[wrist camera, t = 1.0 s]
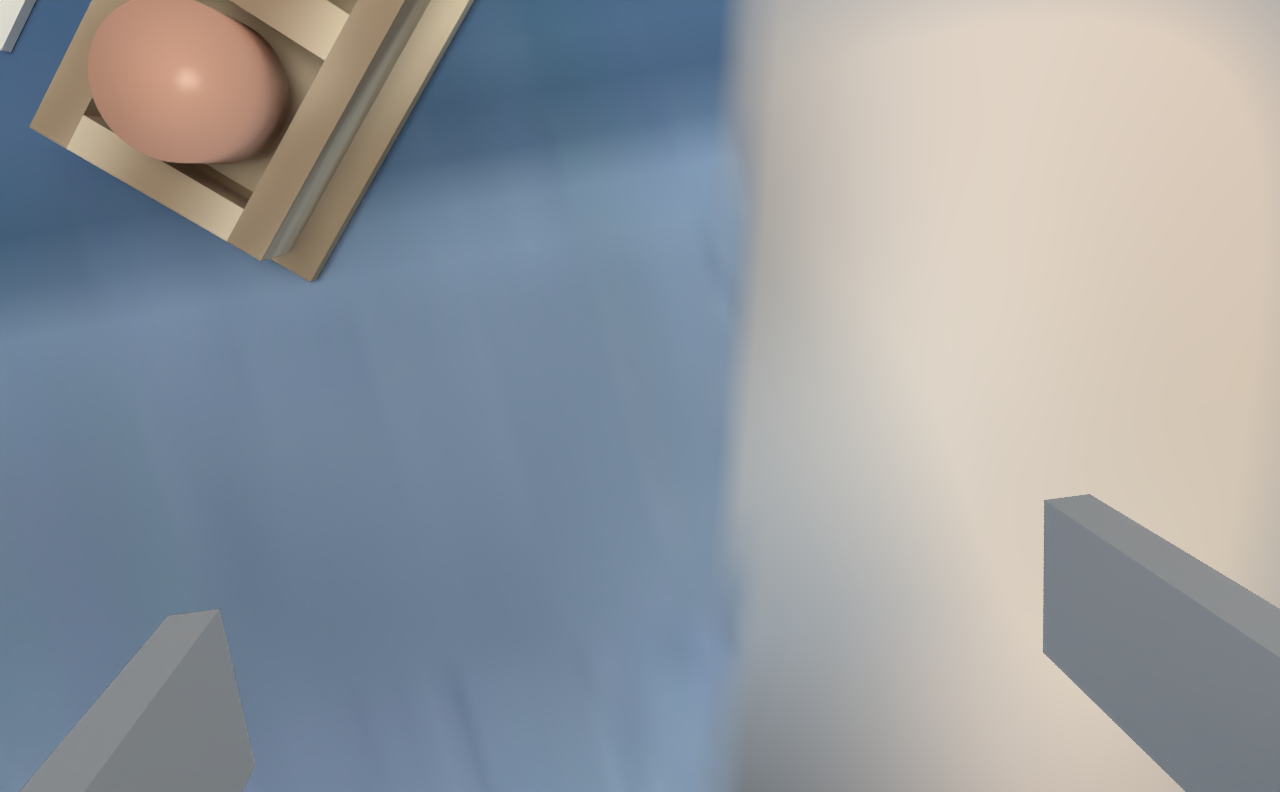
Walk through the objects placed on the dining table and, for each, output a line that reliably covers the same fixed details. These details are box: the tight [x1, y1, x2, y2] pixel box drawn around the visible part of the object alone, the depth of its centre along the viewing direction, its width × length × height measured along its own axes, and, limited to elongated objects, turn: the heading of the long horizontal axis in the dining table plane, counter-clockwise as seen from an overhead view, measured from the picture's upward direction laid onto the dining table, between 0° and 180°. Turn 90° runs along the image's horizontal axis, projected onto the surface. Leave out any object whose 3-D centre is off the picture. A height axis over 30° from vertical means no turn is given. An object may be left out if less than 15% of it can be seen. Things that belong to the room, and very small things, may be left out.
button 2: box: [88, 0, 289, 164], centre depth 28 cm, size 5×5×4 cm
